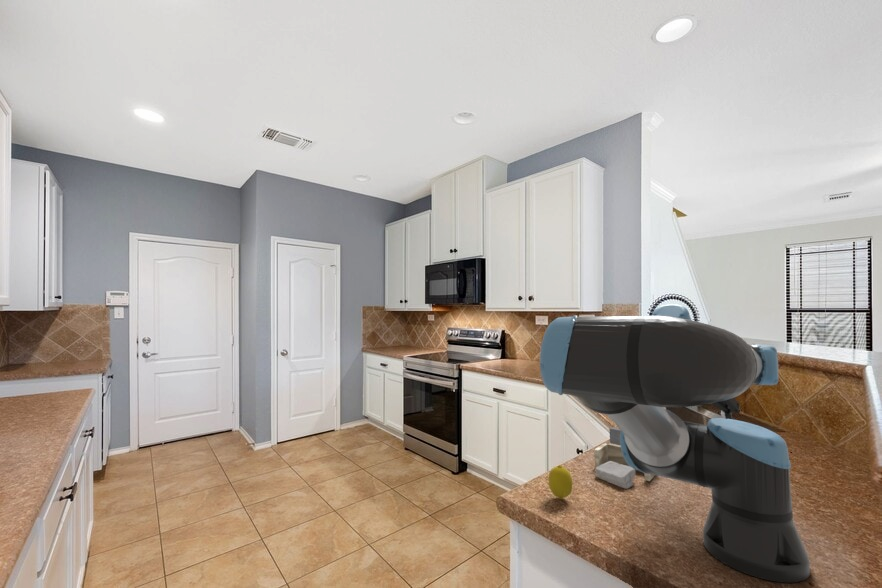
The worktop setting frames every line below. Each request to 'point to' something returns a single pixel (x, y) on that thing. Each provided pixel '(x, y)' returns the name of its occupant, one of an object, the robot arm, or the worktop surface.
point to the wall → (615, 435)
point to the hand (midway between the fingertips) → (694, 423)
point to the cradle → (612, 456)
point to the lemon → (560, 482)
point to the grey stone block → (616, 474)
